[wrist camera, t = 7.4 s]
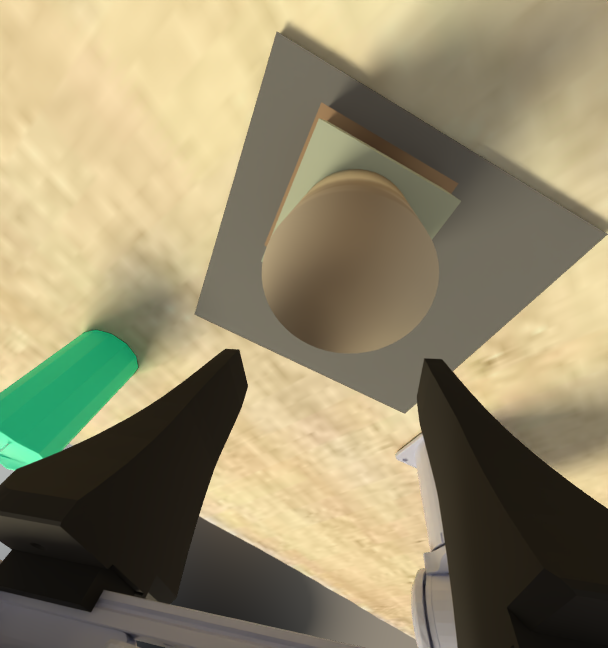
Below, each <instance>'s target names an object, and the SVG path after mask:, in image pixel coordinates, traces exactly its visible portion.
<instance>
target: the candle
mask: <svg viewBox="0 0 608 648" xmlns="http://www.w3.org/2000/svg"><path fill="white" fill-rule="evenodd" d="M137 369H138V363H137V358H136V355H135V354H134V353H133V352H132V350H131V349H130V348H129V346H128V345H127V344H126V343H124V342H123V341H121V340H120V339H119V338H117V337H116V336H114V335H113V334H110V333H106V332H103V331H99V330H92V331H88V332H84V333H83V334H81V335H80V336H79V337H77V338H76V339H74V340H73V341H72V342H70V343H69V344H67V345H66V346H65V347H63V348H62V349H61V350H59V351H58V352H56V353H55V354H54V355H52V356H51V357H49V358H48V359H47V360H45V361H44V362H43V363H41V364H40V365H38V366H37V367H36V368H34V369H33V370H31V371H30V372H29V373H27V374H26V375H25V376H23V377H22V378H20V379H19V380H18V381H16V382H15V383H13V384H12V385H11V386H9V387H8V388H7V389H5V390H4V391H2V392H1V393H0V464H2V465H3V466H4V467H5V468H6V469H10V470H16V469H18V468H20V467H23V466H26V465H28V464H31V463H33V462H36V461H38V460H41V459H43V458H45V457H48V456H50V455H53V454H55V453H58V452H60V451H62V450H63V449H64V448H65V447H66V446H67V445H68V444H69V442H70V441H71V440H72V439H73V438H74V437H75V436H76V435H77V434H78V433H79V432H80V431H81V430H82V429H83V428H84V427H85V425H86V424H87V423H88V422H89V421H90V420H91V419H92V418H93V417H94V416H95V415H96V414H97V413H98V412H99V411H100V410H101V408H102V407H103V406H104V405H105V404H106V403H107V402H108V401H109V400H110V399H111V398H112V397H113V396H114V395H115V394H116V393H117V391H118V390H119V389H120V388H121V387H122V386H123V385H124V384H125V383H126V382H127V381H128V380H129V379H130V378H131V377H132V376H133V374H134V373H135V372H136V370H137Z"/></svg>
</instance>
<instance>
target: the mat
mask: <svg viewBox="0 0 608 648" xmlns="http://www.w3.org/2000/svg"><path fill="white" fill-rule="evenodd" d="M321 102H322V103H323V104H325V105H327V106H329V107H330V108H332V109H334V110H335V111H337V112H339V113H340V114H342V115H344V116H345V117H347V118H349V119H350V120H352V121H354V122H356V123H357V124H359V125H361V126H362V127H364V128H366V129H367V130H369V131H371V132H372V133H374V134H376V135H377V136H379V137H381V138H382V139H384V140H386V141H388V142H389V143H391V144H393V145H394V146H396V147H398V148H399V149H401V150H403V151H404V152H406V153H408V154H409V155H411V156H413V157H415V158H416V159H418V160H420V161H421V162H423V163H425V164H426V165H428V166H430V167H431V168H433V169H435V170H436V171H438V172H440V173H441V174H443V175H445V176H447V177H448V178H450V179H452V180H453V181H455V182H457V183H458V185H457V186H456V188H455V189H454V191H453V192H452V193H451V194H452V195H453V196H455V197H456V198H457V199H459V200H460V201H461V202H460V204H459V205H458V206H457V208H456V209H455V210H454V212H453V213H452V214H451V215H450V217H449V218H448V219H447V221H446V222H445V223H444V225H443V226H442V227H441V229H440V230H439V231H438V233H437V234H436V235H435V237H434V238H433V239H432V241H433V244H434V247H435V249H436V252H437V257H438V262H439V281H438V287H437V291H436V295H435V298H434V300H433V303H432V305H431V307H430V309H429V310H428V312H427V314H426V315H425V317H424V318H423V319H422V320H421V322H420V323H419V324H418V325H417V326H416V327H415V328H414V329H413V330H412V331H411V332H410V333H408V334H407V335H406V336H404V337H403V338H401V339H400V340H398V341H396V342H395V343H393V344H390V345H388V346H386V347H383V348H380V349H377V350H374V351H369V352H364V353H350V354H346V353H335V352H330V351H326V350H322V349H319V348H316V347H314V346H311V345H309V344H307V343H305V342H303V341H301V340H300V339H298V338H297V337H295V336H294V335H293V334H291V333H290V332H289V331H288V330H287V329H286V328H285V327H284V326H283V325H282V324H281V323H280V322H279V321H278V319H277V318H276V316H275V315H274V314H273V312H272V310H271V308H270V306H269V304H268V302H267V299H266V297H265V293H264V289H263V284H262V263H263V262H261V260H262V258H263V255H264V253H265V250H266V247H267V246H265V242H266V240H267V237H268V235H269V232H270V230H271V227H272V225H273V222H274V220H275V217H276V215H277V212H278V210H279V207H280V205H281V202H282V200H283V197H284V195H285V192H286V190H287V187H288V185H289V182H290V180H291V177H292V175H293V172H294V170H295V167H296V165H297V162H298V159H299V157H300V154H301V152H302V149H303V147H304V144H305V142H306V139H307V137H308V134H309V132H310V129H311V127H312V124H313V122H314V119H315V117H316V114H317V112H318V109H319V107H320V104H321ZM606 235H608V234H607V233H605V232H603V231H602V230H600V229H598V228H597V227H595V226H594V225H592V224H590V223H589V222H587V221H585V220H584V219H582V218H580V217H579V216H577V215H576V214H574V213H572V212H571V211H569V210H567V209H566V208H564V207H562V206H561V205H559V204H558V203H556V202H554V201H553V200H551V199H549V198H548V197H546V196H545V195H543V194H541V193H540V192H538V191H536V190H535V189H533V188H531V187H530V186H528V185H527V184H525V183H523V182H522V181H520V180H518V179H517V178H515V177H514V176H512V175H510V174H509V173H507V172H505V171H504V170H502V169H500V168H499V167H497V166H496V165H494V164H492V163H491V162H489V161H487V160H486V159H484V158H483V157H481V156H479V155H478V154H476V153H474V152H473V151H471V150H469V149H468V148H466V147H465V146H463V145H461V144H460V143H458V142H456V141H455V140H453V139H451V138H450V137H448V136H447V135H445V134H443V133H442V132H440V131H438V130H437V129H435V128H434V127H432V126H430V125H429V124H427V123H425V122H424V121H422V120H420V119H419V118H417V117H416V116H414V115H412V114H411V113H409V112H407V111H406V110H404V109H403V108H401V107H399V106H398V105H396V104H394V103H393V102H391V101H389V100H388V99H386V98H385V97H383V96H381V95H380V94H378V93H376V92H375V91H373V90H372V89H370V88H368V87H367V86H365V85H363V84H362V83H360V82H358V81H357V80H355V79H354V78H352V77H350V76H349V75H347V74H345V73H344V72H342V71H340V70H339V69H337V68H336V67H334V66H332V65H331V64H329V63H327V62H326V61H324V60H323V59H321V58H319V57H318V56H316V55H314V54H313V53H311V52H309V51H308V50H306V49H305V48H303V47H301V46H300V45H298V44H296V43H295V42H293V41H292V40H290V39H288V38H287V37H285V36H283V35H282V34H280V33H278V32H277V33H276V36H275V39H274V43H273V46H272V50H271V53H270V57H269V60H268V64H267V67H266V70H265V74H264V77H263V81H262V84H261V88H260V91H259V95H258V98H257V101H256V105H255V108H254V112H253V115H252V119H251V122H250V126H249V129H248V132H247V136H246V139H245V143H244V146H243V150H242V153H241V157H240V160H239V163H238V167H237V170H236V174H235V177H234V181H233V184H232V188H231V191H230V194H229V198H228V201H227V205H226V208H225V212H224V215H223V219H222V222H221V225H220V229H219V232H218V236H217V239H216V243H215V246H214V249H213V253H212V256H211V260H210V263H209V267H208V270H207V274H206V277H205V280H204V284H203V287H202V291H201V294H200V298H199V301H198V305H197V308H196V311H195V315H197V316H199V317H201V318H203V319H205V320H207V321H209V322H211V323H214V324H216V325H218V326H220V327H222V328H224V329H226V330H228V331H231V332H233V333H235V334H237V335H239V336H241V337H243V338H245V339H248V340H250V341H252V342H254V343H256V344H258V345H260V346H262V347H264V348H267V349H269V350H271V351H273V352H275V353H277V354H279V355H281V356H284V357H286V358H288V359H290V360H292V361H294V362H296V363H298V364H301V365H303V366H305V367H307V368H309V369H311V370H313V371H315V372H318V373H320V374H322V375H324V376H326V377H328V378H330V379H332V380H334V381H337V382H339V383H341V384H343V385H345V386H347V387H349V388H351V389H354V390H356V391H358V392H360V393H362V394H364V395H366V396H368V397H371V398H373V399H375V400H377V401H379V402H381V403H383V404H385V405H388V406H390V407H392V408H394V409H396V410H398V411H400V412H402V413H404V414H405V413H406V412H407V411H408V410H409V409H411V408H412V407H413V406H414V405H415V404H416V403H417V393H418V388H419V382H420V377H421V372H422V367H423V362H424V358H429V359H442V360H443V361H444V362H445V363H446V364H447V365H448V367H449V368H450V369H451V370H452V371H454V370H455V369H456V368H457V367H458V366H459V365H460V364H461V363H463V362H464V361H465V360H466V359H467V358H468V357H469V356H471V355H472V354H473V353H474V352H475V351H476V350H477V349H478V348H480V347H481V346H482V345H483V344H484V343H485V342H486V341H488V340H489V339H490V338H491V337H492V336H493V335H494V334H495V333H497V332H498V331H499V330H500V329H501V328H502V327H503V326H504V325H506V324H507V323H508V322H509V321H510V320H511V319H512V318H514V317H515V316H516V315H517V314H518V313H519V312H520V311H521V310H523V309H524V308H525V307H526V306H527V305H528V304H529V303H531V302H532V301H533V300H534V299H535V298H536V297H537V296H538V295H540V294H541V293H542V292H543V291H544V290H545V289H546V288H548V287H549V286H550V285H551V284H552V283H553V282H554V281H555V280H557V279H558V278H559V277H560V276H561V275H562V274H563V273H564V272H566V271H567V270H568V269H569V268H570V267H571V266H572V265H574V264H575V263H576V262H577V261H578V260H579V259H580V258H581V257H583V256H584V255H585V254H586V253H587V252H588V251H589V250H591V249H592V248H593V247H594V246H595V245H596V244H597V243H598V242H600V241H601V240H602V239H603V238H604V237H605V236H606Z"/></svg>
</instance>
